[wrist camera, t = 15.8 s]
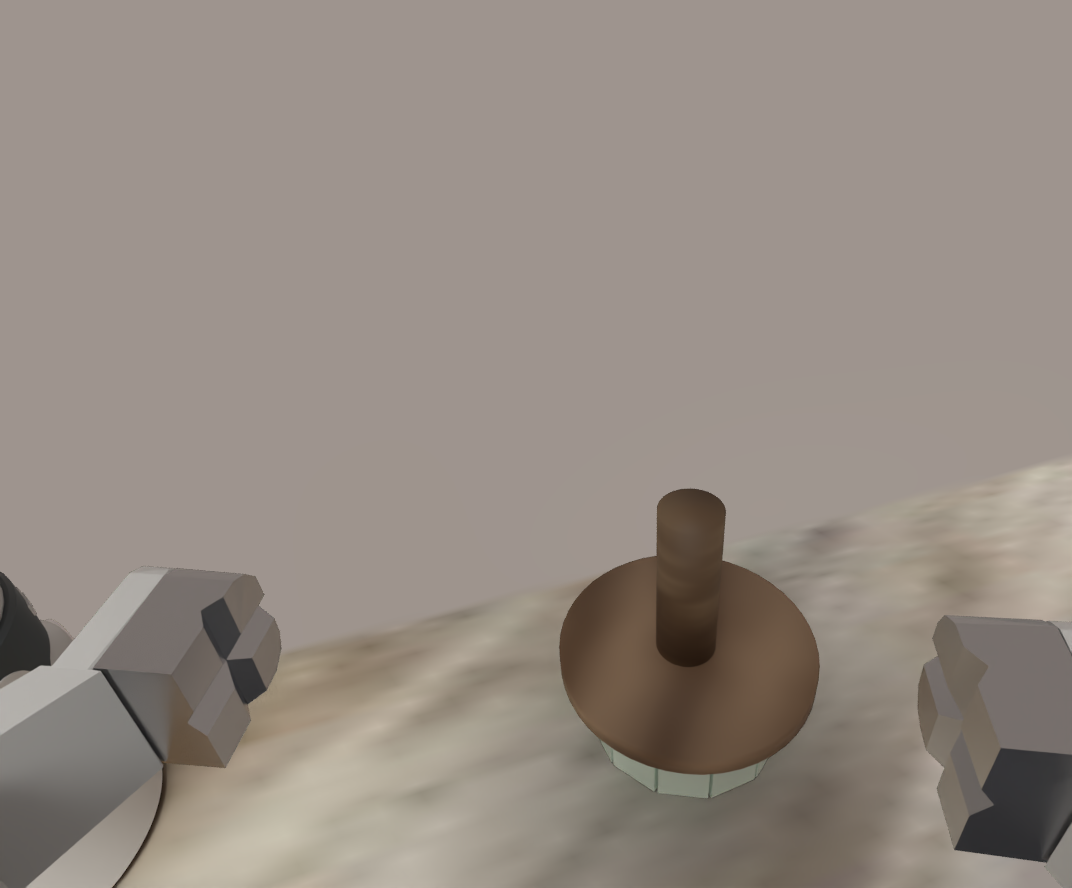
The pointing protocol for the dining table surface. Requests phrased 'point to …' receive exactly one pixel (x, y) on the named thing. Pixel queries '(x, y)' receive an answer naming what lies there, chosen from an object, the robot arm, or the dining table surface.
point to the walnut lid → (689, 652)
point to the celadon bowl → (683, 777)
